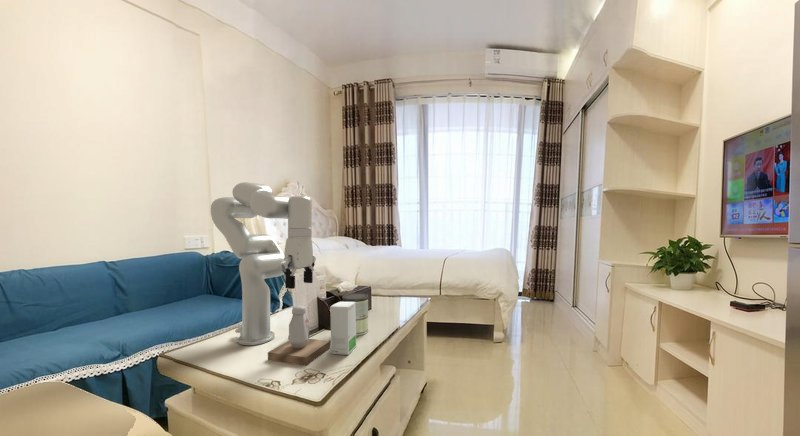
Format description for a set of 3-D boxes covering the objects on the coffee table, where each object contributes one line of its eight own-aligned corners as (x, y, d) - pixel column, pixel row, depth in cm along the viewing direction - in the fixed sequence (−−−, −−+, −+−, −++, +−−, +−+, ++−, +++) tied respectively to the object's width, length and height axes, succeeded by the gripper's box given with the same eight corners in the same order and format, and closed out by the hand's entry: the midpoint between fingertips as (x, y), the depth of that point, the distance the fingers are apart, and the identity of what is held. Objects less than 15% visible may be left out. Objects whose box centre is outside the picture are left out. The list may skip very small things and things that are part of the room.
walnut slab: (267, 360, 98) (267, 352, 98) (295, 344, 112) (295, 337, 112) (306, 365, 94) (306, 357, 94) (330, 348, 108) (330, 340, 108)
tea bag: (289, 341, 115) (288, 313, 115) (300, 335, 121) (300, 309, 121) (297, 342, 113) (297, 314, 114) (308, 336, 120) (308, 310, 120)
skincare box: (348, 355, 101) (347, 307, 102) (329, 354, 103) (328, 306, 103) (356, 346, 109) (356, 301, 110) (339, 344, 111) (338, 300, 111)
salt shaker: (289, 350, 99) (289, 309, 100) (288, 344, 105) (288, 305, 105) (309, 347, 102) (308, 307, 102) (307, 341, 107) (306, 303, 107)
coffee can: (338, 335, 120) (338, 298, 120) (347, 326, 130) (346, 292, 131) (365, 336, 119) (364, 299, 119) (371, 327, 129) (371, 293, 129)
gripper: (305, 232, 113) (305, 280, 113) (272, 234, 97) (272, 290, 97) (323, 233, 111) (323, 281, 111) (293, 234, 95) (292, 291, 94)
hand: (299, 285), depth 104 cm, fingers open, 9 cm apart
